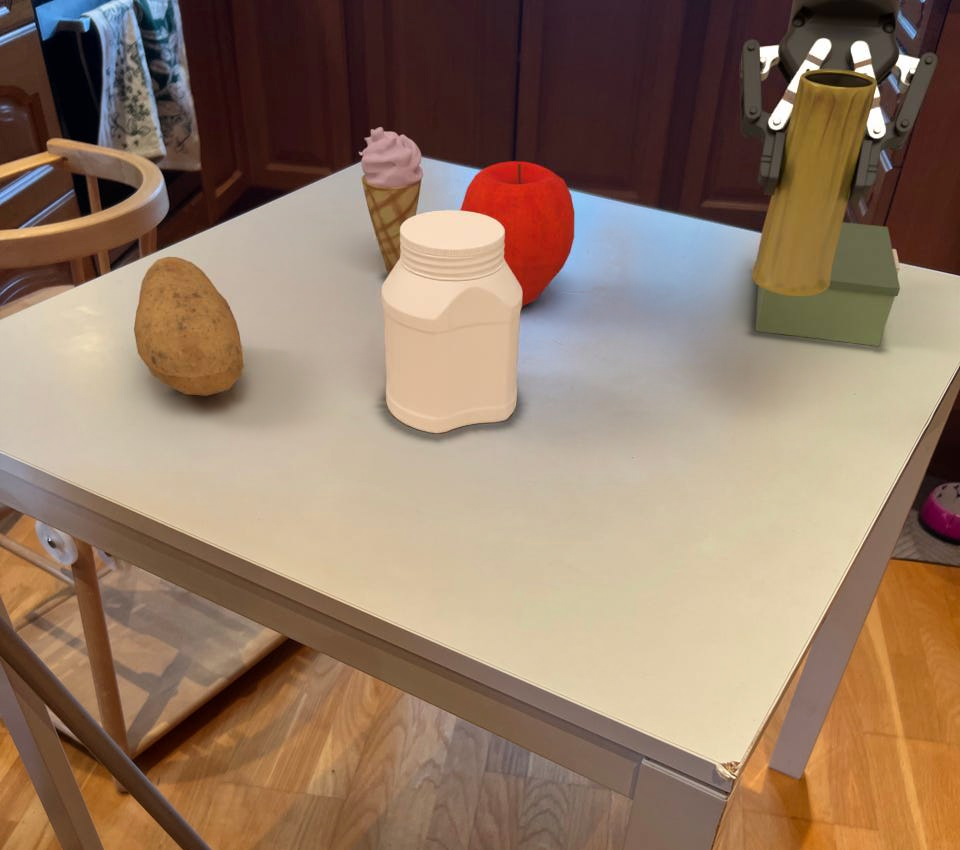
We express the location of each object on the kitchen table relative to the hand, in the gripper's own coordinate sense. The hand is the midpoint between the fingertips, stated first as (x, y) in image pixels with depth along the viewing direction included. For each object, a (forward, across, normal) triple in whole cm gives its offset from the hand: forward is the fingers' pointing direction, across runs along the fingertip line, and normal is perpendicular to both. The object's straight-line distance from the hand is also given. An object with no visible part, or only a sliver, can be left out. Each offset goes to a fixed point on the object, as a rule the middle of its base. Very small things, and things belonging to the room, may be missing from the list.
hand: (813, 193), depth 70 cm
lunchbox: (-6, +6, +33) cm, 34 cm away
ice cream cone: (-2, -40, +30) cm, 50 cm away
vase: (+4, 0, +6) cm, 8 cm away
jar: (+16, -27, +12) cm, 33 cm away
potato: (+18, -50, +10) cm, 54 cm away
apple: (0, -26, +28) cm, 38 cm away
